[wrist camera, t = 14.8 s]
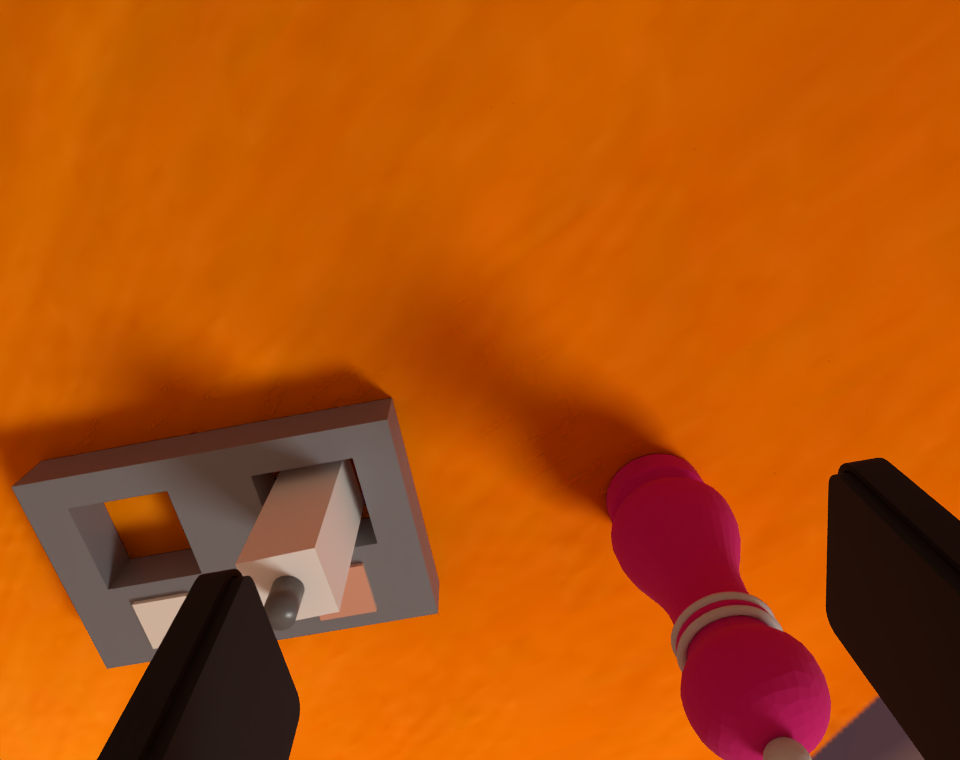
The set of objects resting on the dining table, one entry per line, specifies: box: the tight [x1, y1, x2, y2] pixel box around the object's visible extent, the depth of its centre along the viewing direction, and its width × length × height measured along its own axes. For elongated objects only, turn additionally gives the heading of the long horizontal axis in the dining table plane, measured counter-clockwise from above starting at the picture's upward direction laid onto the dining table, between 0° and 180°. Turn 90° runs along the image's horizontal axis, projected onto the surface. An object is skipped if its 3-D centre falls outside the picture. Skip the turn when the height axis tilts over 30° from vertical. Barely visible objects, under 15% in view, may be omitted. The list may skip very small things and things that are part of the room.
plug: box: [235, 459, 365, 631], centre depth 37 cm, size 4×4×12 cm
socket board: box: [12, 398, 439, 669], centre depth 42 cm, size 14×22×3 cm, turn 100°
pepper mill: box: [606, 454, 831, 760], centre depth 34 cm, size 7×7×20 cm
